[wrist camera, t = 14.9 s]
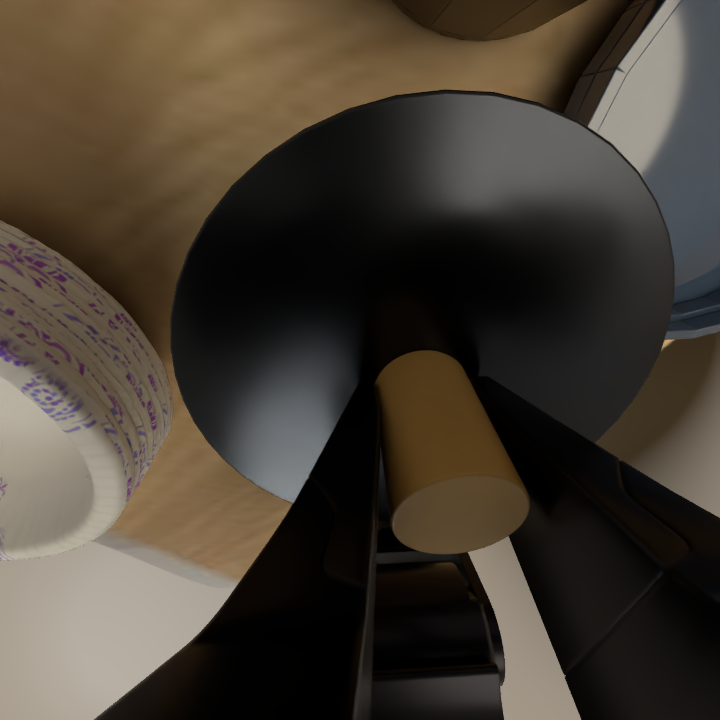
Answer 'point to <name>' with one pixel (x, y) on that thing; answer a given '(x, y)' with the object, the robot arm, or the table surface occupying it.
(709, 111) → the blue-grey round rimmed part
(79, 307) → the paper bowls
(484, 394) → the robot arm
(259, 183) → the tin lid
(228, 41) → the table surface
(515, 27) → the tin
